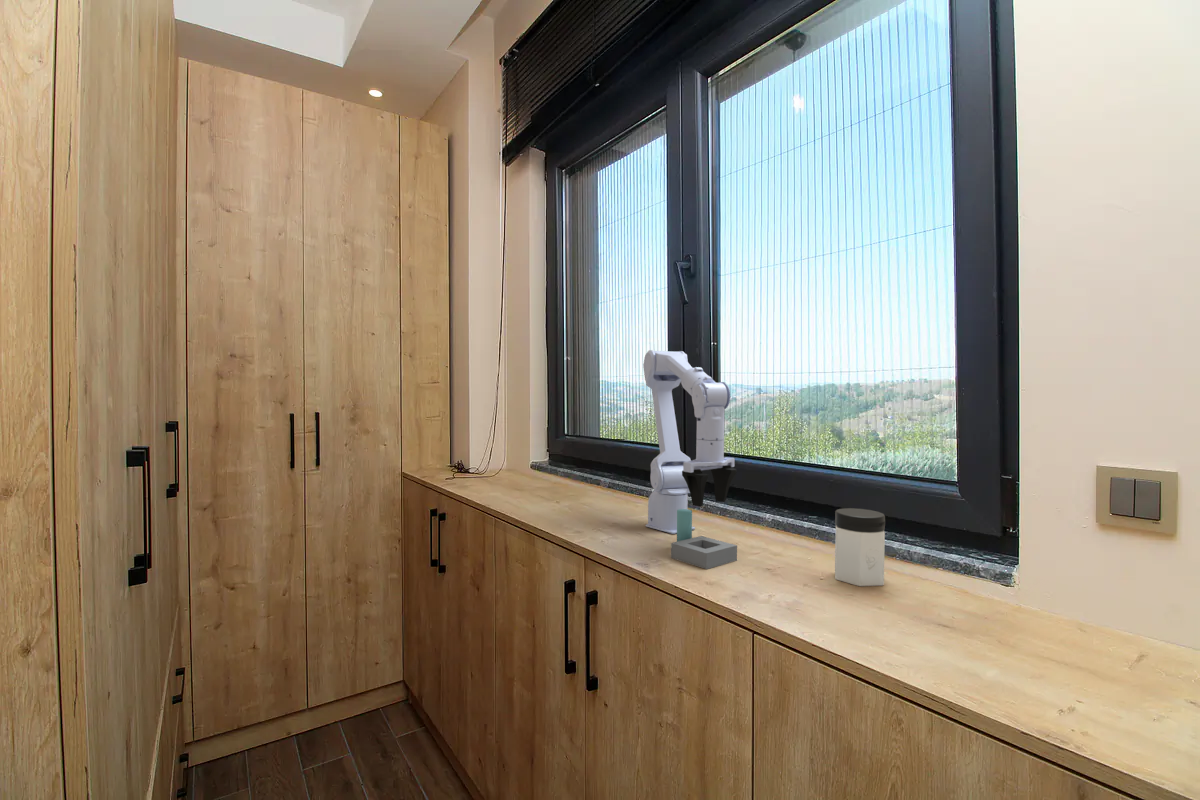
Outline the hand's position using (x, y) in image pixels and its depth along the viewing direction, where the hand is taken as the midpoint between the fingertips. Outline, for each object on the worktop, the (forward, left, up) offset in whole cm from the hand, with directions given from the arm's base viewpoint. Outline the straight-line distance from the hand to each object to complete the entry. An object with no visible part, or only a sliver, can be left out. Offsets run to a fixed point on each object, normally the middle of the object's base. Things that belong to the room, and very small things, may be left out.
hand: (709, 503), depth 120 cm
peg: (-4, -3, -10) cm, 11 cm away
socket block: (+4, -6, -10) cm, 12 cm away
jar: (+29, +7, -10) cm, 31 cm away
